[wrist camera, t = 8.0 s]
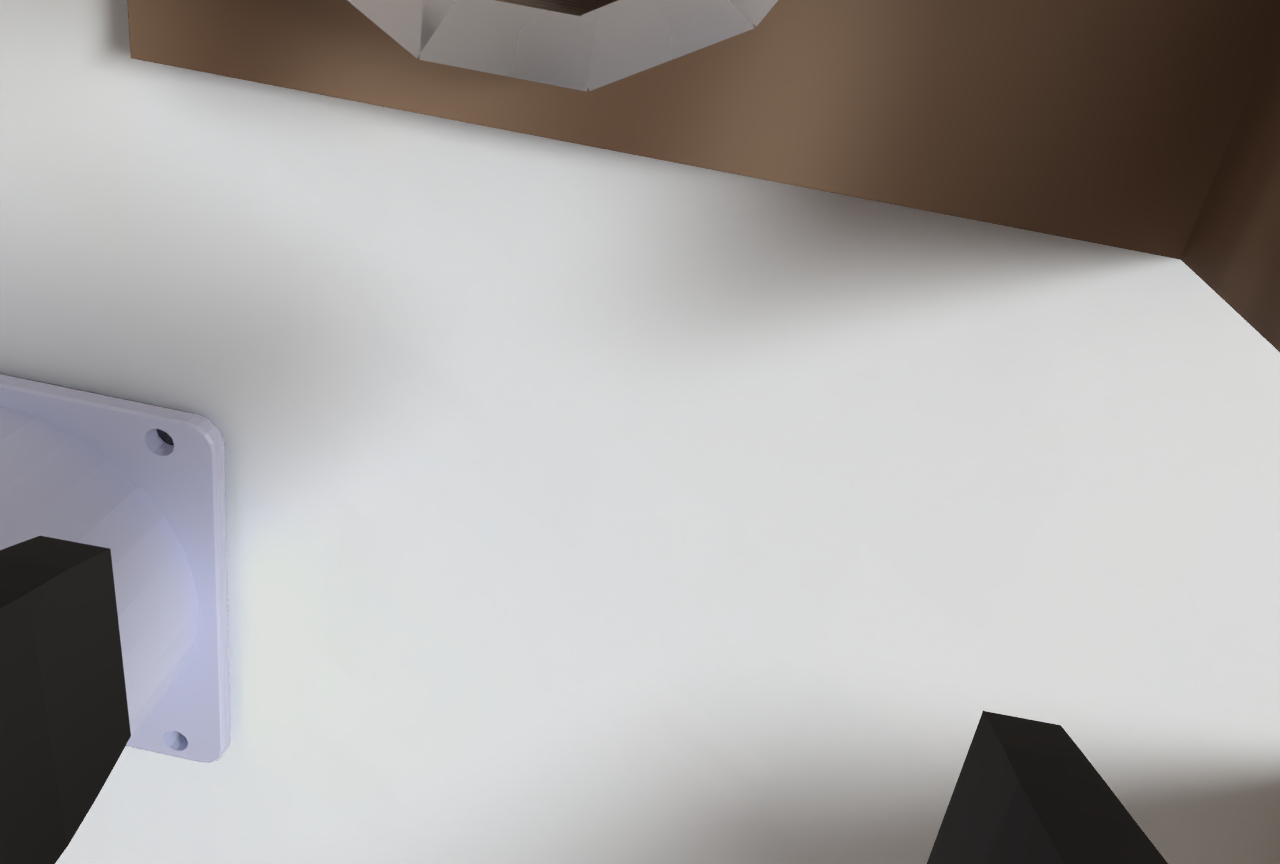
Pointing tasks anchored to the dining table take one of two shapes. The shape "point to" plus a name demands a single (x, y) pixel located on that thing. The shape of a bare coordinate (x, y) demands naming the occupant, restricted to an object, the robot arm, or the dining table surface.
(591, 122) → the cup bracket
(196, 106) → the dining table surface
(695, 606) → the dining table surface
